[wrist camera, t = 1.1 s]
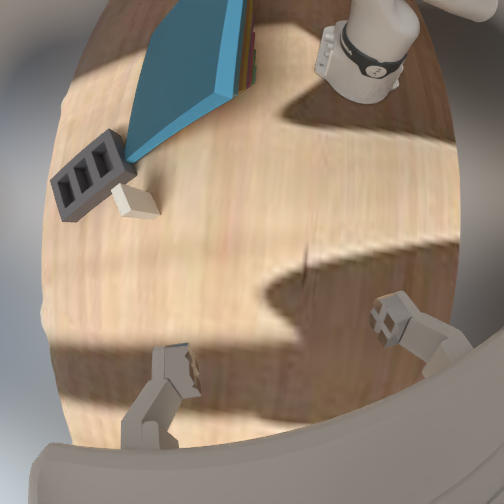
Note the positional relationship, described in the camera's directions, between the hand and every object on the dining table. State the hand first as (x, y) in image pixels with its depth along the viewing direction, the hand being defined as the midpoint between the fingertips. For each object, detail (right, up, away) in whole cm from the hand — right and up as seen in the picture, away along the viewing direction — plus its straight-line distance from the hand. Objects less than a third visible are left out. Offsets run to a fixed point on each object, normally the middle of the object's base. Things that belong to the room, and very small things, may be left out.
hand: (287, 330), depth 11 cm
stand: (-36, +19, +41) cm, 58 cm away
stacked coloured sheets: (-14, +38, +39) cm, 56 cm away
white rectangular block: (-21, +12, +40) cm, 47 cm away
